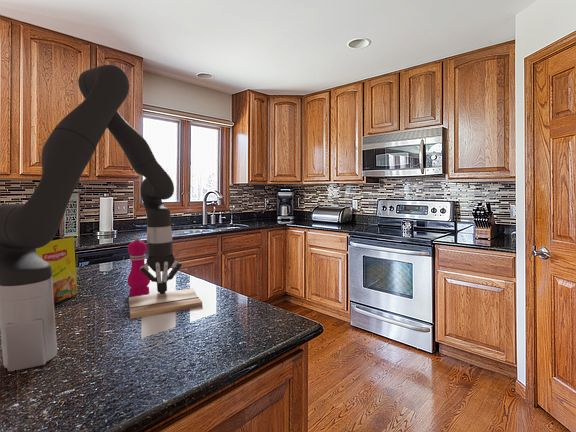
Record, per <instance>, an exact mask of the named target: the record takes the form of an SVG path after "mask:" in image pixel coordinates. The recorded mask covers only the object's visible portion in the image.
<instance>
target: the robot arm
mask: <svg viewBox="0 0 576 432" xmlns="http://www.w3.org/2000/svg"><path fill="white" fill-rule="evenodd" d="M77 83H78V85H77V86H78V88H79V90H80V93H81V95H82V96H83V98H84V100H82V102H81V103H79V104H78V105H77V106H76V107H75V108H74V109H72V111H70V112H69V113H68V114H66V115H65V116H64V117H63V118H62V119H61V120H60V121H59V122H58V123H57V124H56V126H55V127H54V129H53V130H52V132H51V133H50V135H49V136H48V137H47V139H46V141H45V142H44V145H43V146H42V150H41V169H42V170H41V178H40V181H39V183H37V184H38V185H37V187H36V188H35V189H34V191H33V193H32V194H31V196H30V197H29V199H27V201H26V202H25V203H5V204H1V205H0V339H1V340H0V341H1V342H0V343H1V349H2V350H1V352H2V362H3V368H4V369H6V368H7V372H8V371H11V372H15V370H16V371H20V370H25V369H30V368H35V367H40V366H45V365H46V363H48V362H49V361H50V360H53V359H54V358H55V357H56V356H57V354H58V344H57V332H56V329H57V328H56V317H55V303H54V298H53V282H52V268H51V265H50V264H49V263H48V262H46V261H44V260H43V259H42V258H41V257H40V256H39V255H38V254H37V252H36V248H41V247H43V246H45V245H47V244H48V243H49V242H50V241H53V239H54V238H55V236H56V235H57V233H58V231H59V228H60V226H61V223H62V221H63V218H64V216H65V213H66V210H67V208H68V205H69V203H70V200H71V197H72V195H73V193H74V191H75V188H76V187H77V185H78V184H79V181H80V179H81V177H82V174H83V173H84V172H85V169H86V168H87V165H88V164H89V163H90V160H91V159H92V157H93V155H94V153H95V152H96V149H97V147H98V144H99V142H100V141H101V139H102V138H103V135H104V133H105V131H106V130H108V131H109V132H110V133H111V135H112V136H113V138H114V139H115V141H116V142H117V143H118V145H119V146H120V148H121V150H122V151H123V153H124V155H125V157H126V159H127V160H128V162H129V163H130V166H131V167H132V170H133V171H134V172H135V173H136V174H137V175H139V176H142V177H144V178H145V179H143V180H142V182H141V185H140V197H141V200H142V204H143V207H144V209H145V212H146V226H147V227H146V228H147V229H146V246H147V259H146V263H145V265H143V266H141V267H140V270H141V271H142V272H143V273H144V274H145V275H146V276H147V277H148V278H149V279H150V282H153V283H156V290H157V293H160V294H165V292H168V281H171V280H173V279H174V277H175V276H176V274H177V273H178V272H179V271H180V269H181V267H182V266H183V265H182V263H181V262H180V261H177V260H176V259H175V255H174V247H173V230H172V220H171V219H172V218H171V217H172V216H171V210H170V208H168V207H166V206H165V205H164V204H163V200H164V201H165V200H168V199H171V197H173V195H174V193H175V185H174V182H173V180H172V178H171V176H170V174H168V172H166V170H165V169H164V168H163V167H162V165H160V164H159V162H158V161H157V159H156V157H155V155H154V153H153V151H152V149H151V147H150V145H149V144H148V141H146V139H145V138H144V137H143V136H142V135H141V134H140V133H139V132H138V131H137V130H136V129H135V128H133V126H131V124H129V123H128V121H126V120H125V118H124V117H123V116H122V115H121V114H120V112H119V111H118V110H119V108H120V107H121V106H122V104H123V103H124V102H125V100H126V99H127V97H128V95H129V91H130V80H129V77H128V75H127V73H126V72H125V71H124V69H122V68H121V67H119V66H117V65H116V64H115V65H113V64H103V65H102V64H101V65H99V66H96V67H93V68H90V69H87V70H84V71H82V72H81V73H80V74H79V76H78V79H77ZM171 267H172V269H171ZM150 269H151V270H152V271H153V272H155V276H154V275H153V274H152V273H151V272H150V271H149V270H150ZM170 269H171V270H170ZM169 270H170V271H169ZM168 272H169V273H168ZM161 273H162V274H161Z"/></svg>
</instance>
